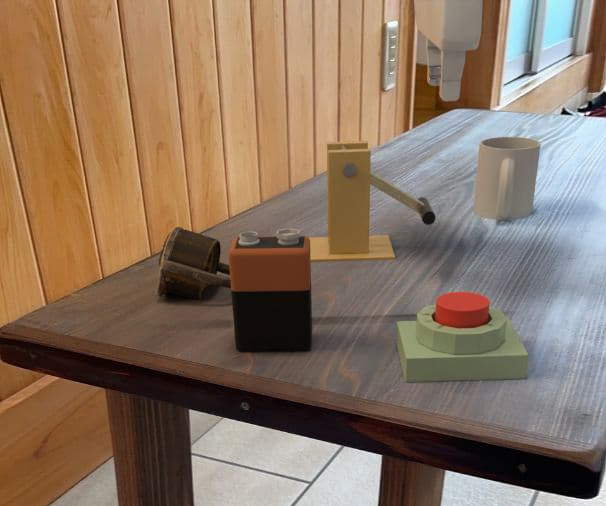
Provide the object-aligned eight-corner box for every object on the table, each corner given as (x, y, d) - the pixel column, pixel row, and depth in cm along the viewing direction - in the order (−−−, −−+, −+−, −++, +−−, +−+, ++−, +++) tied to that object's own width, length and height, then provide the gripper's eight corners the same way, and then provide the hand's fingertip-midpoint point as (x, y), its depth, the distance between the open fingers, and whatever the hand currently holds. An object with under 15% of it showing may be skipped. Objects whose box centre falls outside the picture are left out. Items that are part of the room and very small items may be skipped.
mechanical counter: (192, 224, 91) (129, 227, 83) (294, 227, 85) (237, 230, 77) (195, 294, 94) (134, 303, 86) (295, 301, 87) (239, 312, 80)
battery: (310, 352, 76) (308, 239, 70) (235, 353, 76) (226, 240, 71) (312, 333, 80) (310, 224, 74) (240, 334, 80) (232, 225, 74)
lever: (421, 216, 98) (433, 197, 96) (428, 231, 93) (440, 211, 92) (330, 161, 94) (341, 141, 93) (332, 174, 89) (344, 153, 88)
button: (482, 310, 74) (484, 290, 72) (492, 330, 70) (494, 309, 69) (431, 312, 74) (432, 292, 73) (438, 332, 70) (440, 311, 69)
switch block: (505, 340, 77) (511, 297, 75) (525, 379, 71) (531, 333, 68) (395, 344, 77) (397, 301, 75) (405, 382, 71) (407, 337, 68)
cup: (530, 211, 110) (540, 137, 105) (531, 234, 102) (541, 155, 97) (474, 210, 112) (480, 136, 106) (470, 233, 104) (477, 154, 98)
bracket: (388, 245, 101) (391, 137, 94) (394, 267, 94) (399, 152, 87) (303, 248, 101) (300, 140, 94) (304, 270, 94) (301, 156, 87)
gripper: (507, -78, 70) (492, 108, 78) (467, -78, 86) (458, 76, 94) (429, -74, 70) (423, 112, 78) (405, -74, 86) (401, 79, 94)
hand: (442, 92), depth 86 cm, fingers open, 8 cm apart
